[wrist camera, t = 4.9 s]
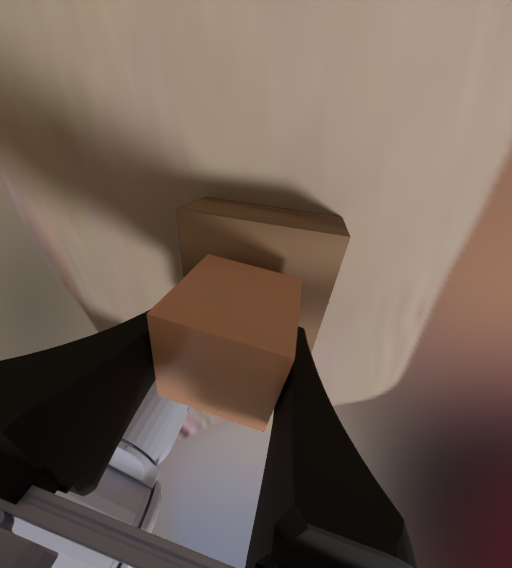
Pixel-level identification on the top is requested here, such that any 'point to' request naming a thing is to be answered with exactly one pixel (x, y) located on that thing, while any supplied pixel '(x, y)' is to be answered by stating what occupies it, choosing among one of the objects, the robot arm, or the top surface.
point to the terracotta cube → (226, 339)
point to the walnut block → (269, 246)
